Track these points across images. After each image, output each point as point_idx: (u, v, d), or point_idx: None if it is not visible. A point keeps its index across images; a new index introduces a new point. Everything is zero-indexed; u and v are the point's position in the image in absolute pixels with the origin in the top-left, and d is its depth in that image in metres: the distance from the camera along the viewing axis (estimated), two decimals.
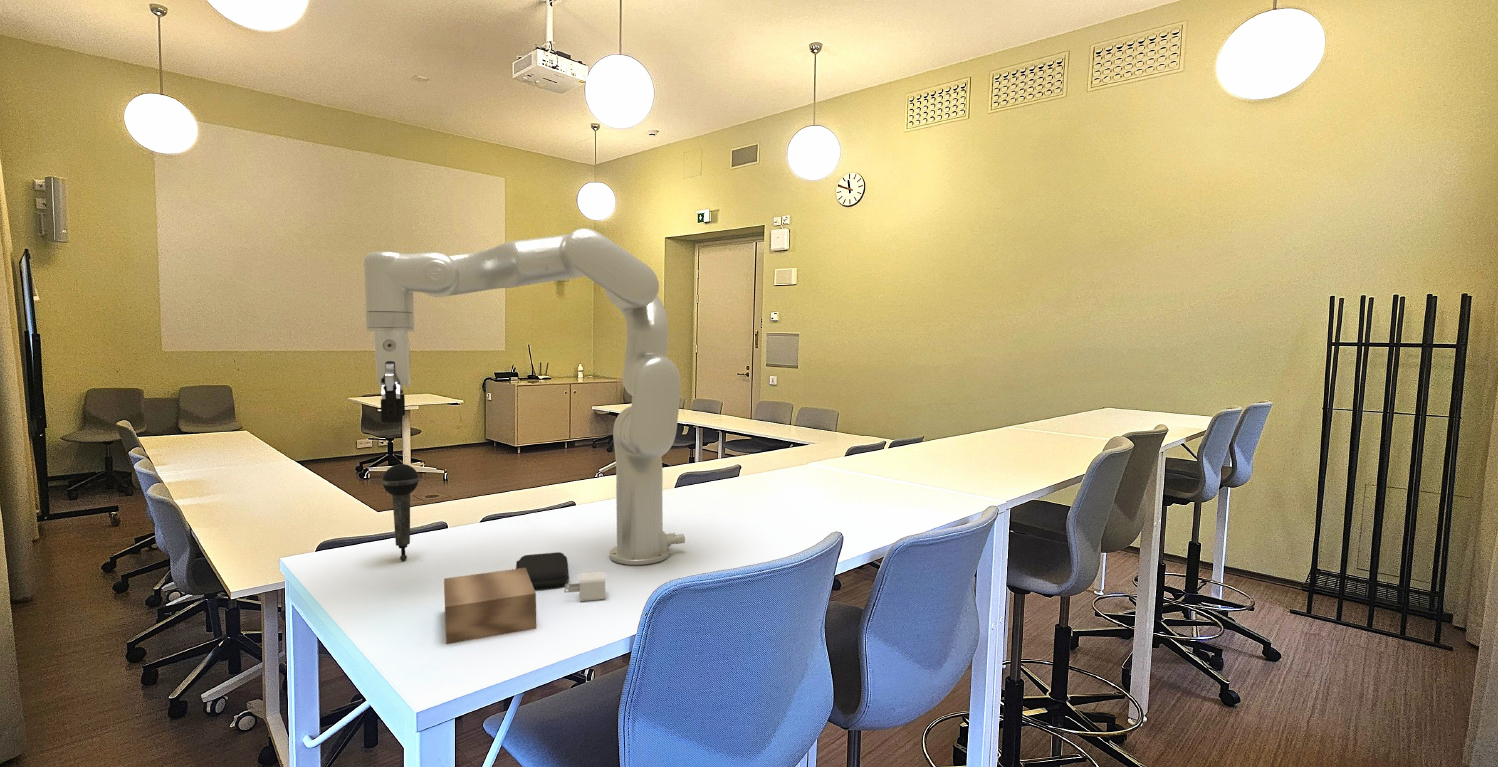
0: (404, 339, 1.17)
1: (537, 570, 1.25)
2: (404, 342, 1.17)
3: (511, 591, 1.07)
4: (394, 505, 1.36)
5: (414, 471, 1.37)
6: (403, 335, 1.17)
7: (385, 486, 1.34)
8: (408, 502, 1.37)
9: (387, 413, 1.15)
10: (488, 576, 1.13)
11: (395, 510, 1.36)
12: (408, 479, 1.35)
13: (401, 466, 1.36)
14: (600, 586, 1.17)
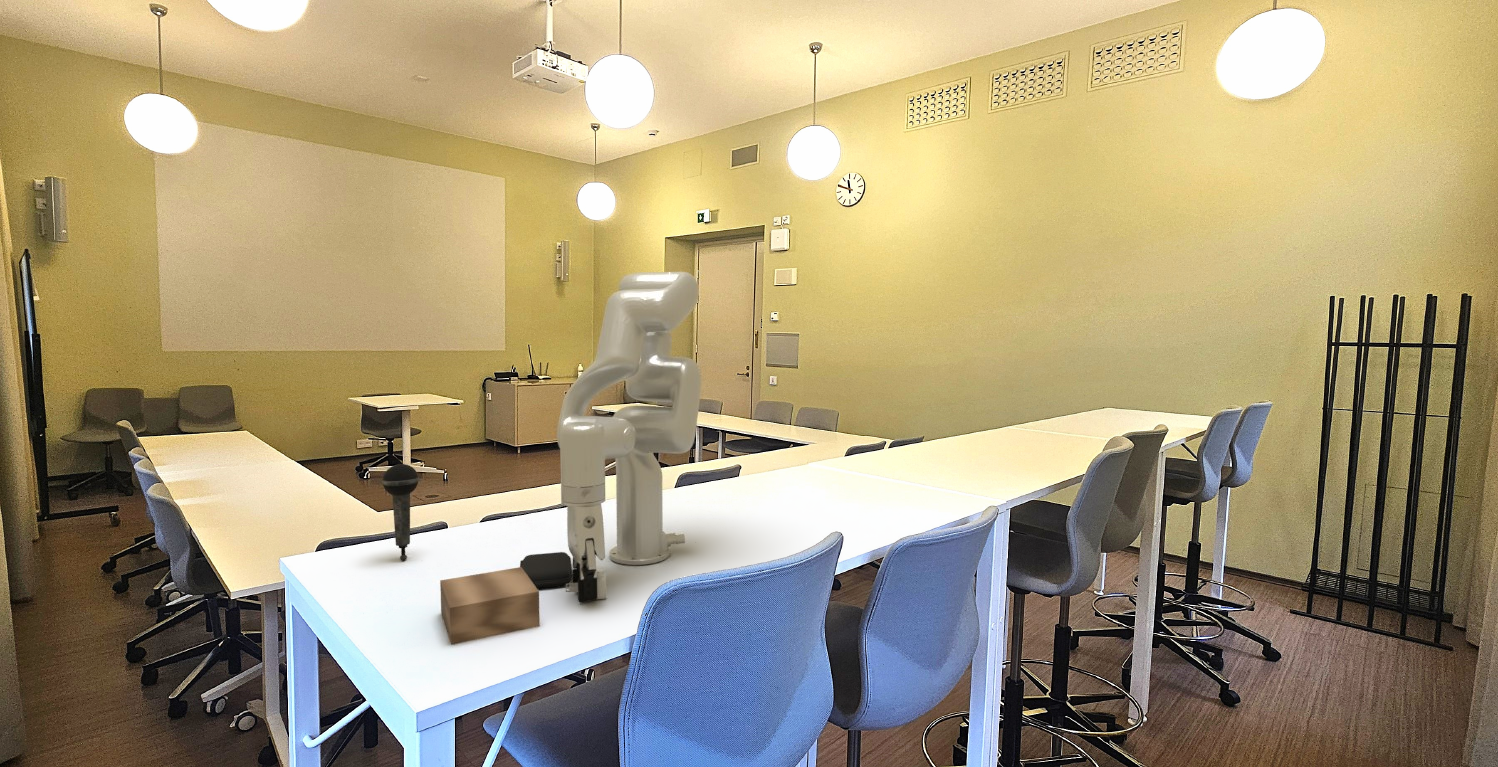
0: (601, 513, 1.15)
1: (541, 569, 1.25)
2: (602, 516, 1.15)
3: (514, 590, 1.07)
4: (394, 505, 1.36)
5: (414, 471, 1.37)
6: (601, 509, 1.15)
7: (385, 486, 1.34)
8: (408, 502, 1.37)
9: (585, 593, 1.15)
10: (485, 576, 1.13)
11: (395, 510, 1.36)
12: (408, 479, 1.35)
13: (401, 466, 1.36)
14: (601, 585, 1.18)
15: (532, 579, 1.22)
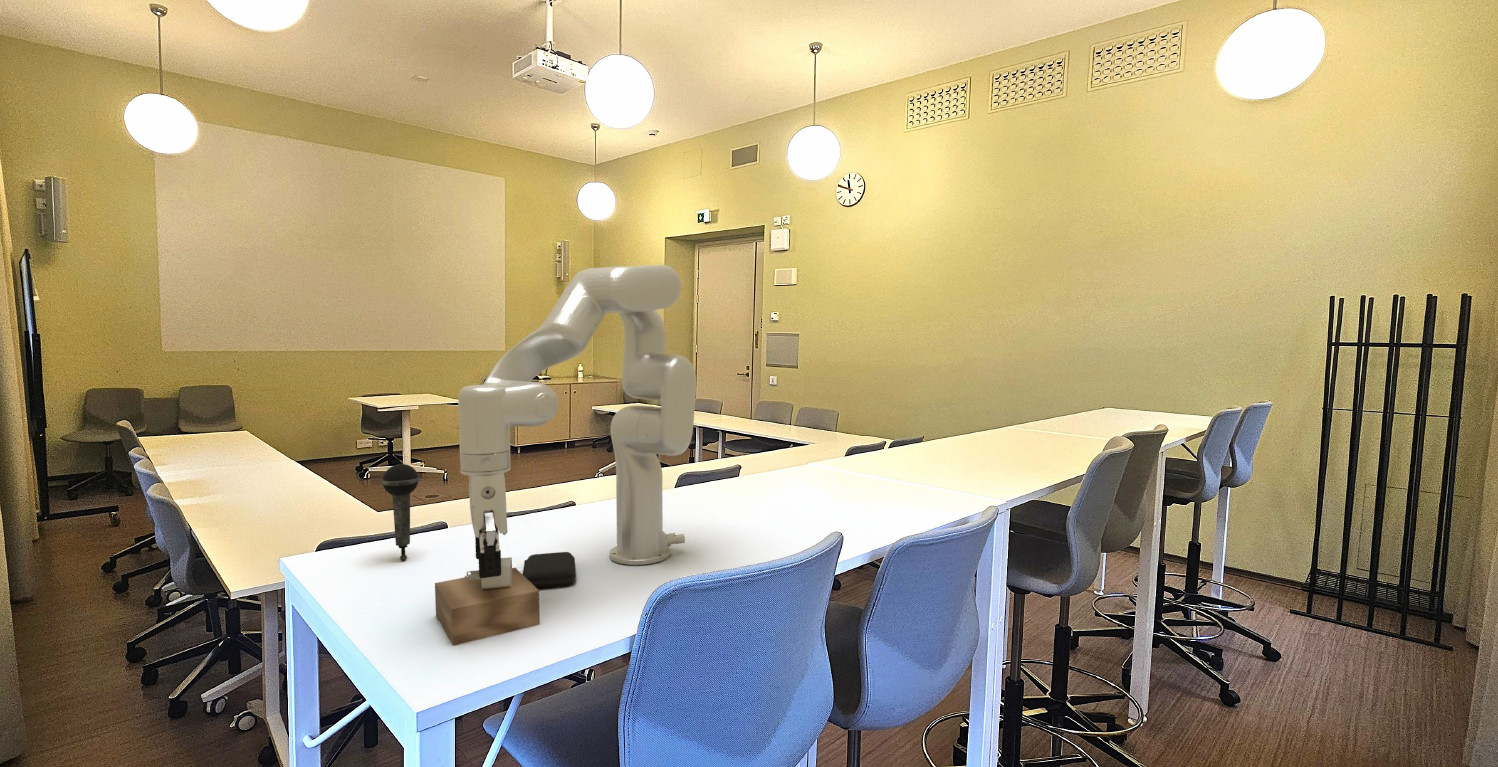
0: (503, 483, 1.05)
1: (545, 569, 1.25)
2: (503, 487, 1.05)
3: (513, 590, 1.07)
4: (394, 505, 1.36)
5: (414, 471, 1.37)
6: (502, 479, 1.05)
7: (385, 486, 1.34)
8: (408, 502, 1.37)
9: (486, 568, 1.03)
10: None
11: (395, 510, 1.36)
12: (408, 479, 1.35)
13: (401, 466, 1.36)
14: (504, 572, 1.08)
15: (536, 579, 1.22)
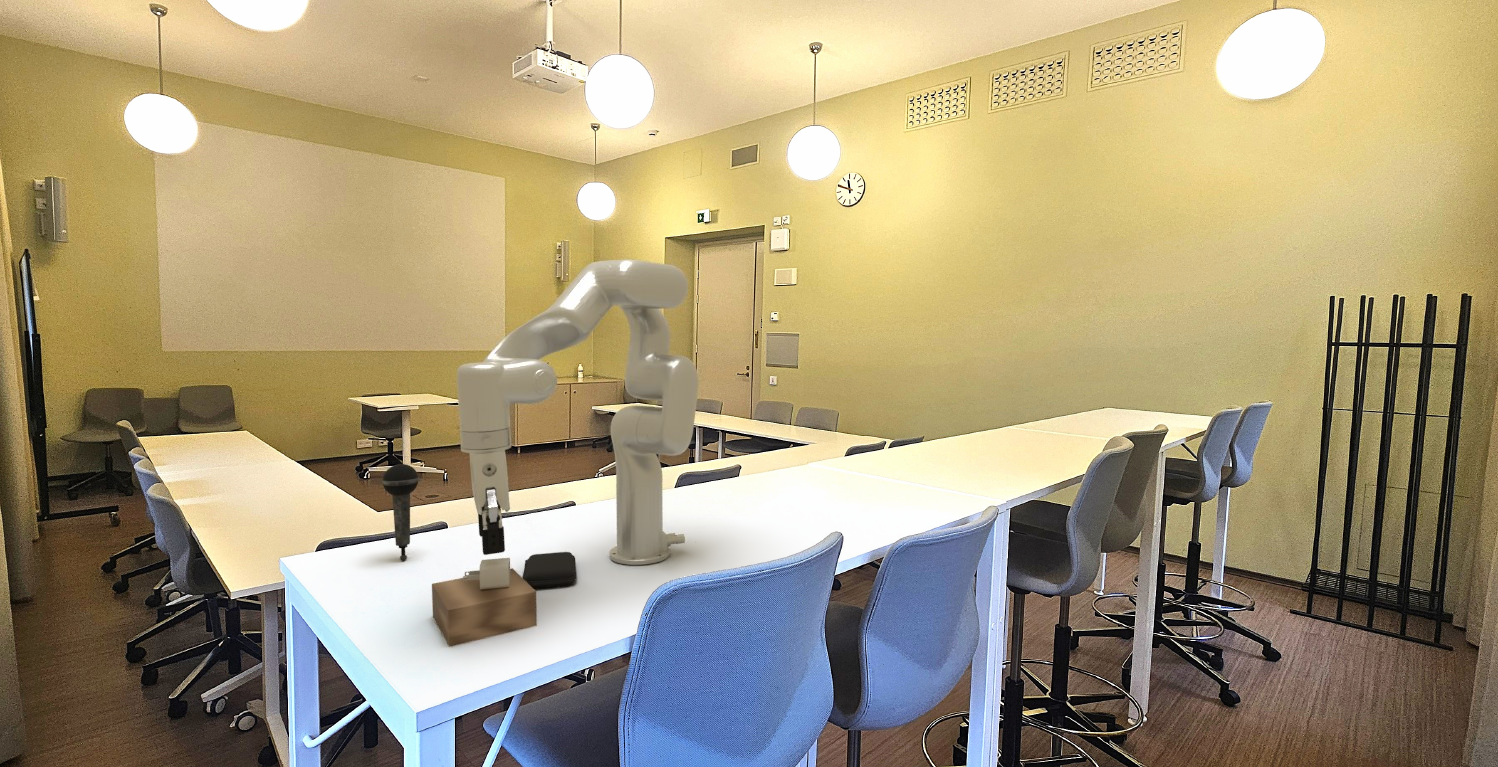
0: (504, 460, 1.05)
1: (545, 569, 1.26)
2: (504, 464, 1.05)
3: (510, 591, 1.07)
4: (394, 505, 1.36)
5: (414, 471, 1.37)
6: (503, 456, 1.05)
7: (385, 486, 1.34)
8: (408, 502, 1.37)
9: (489, 545, 1.04)
10: None
11: (395, 510, 1.36)
12: (408, 479, 1.35)
13: (401, 466, 1.36)
14: (503, 573, 1.08)
15: (536, 578, 1.22)
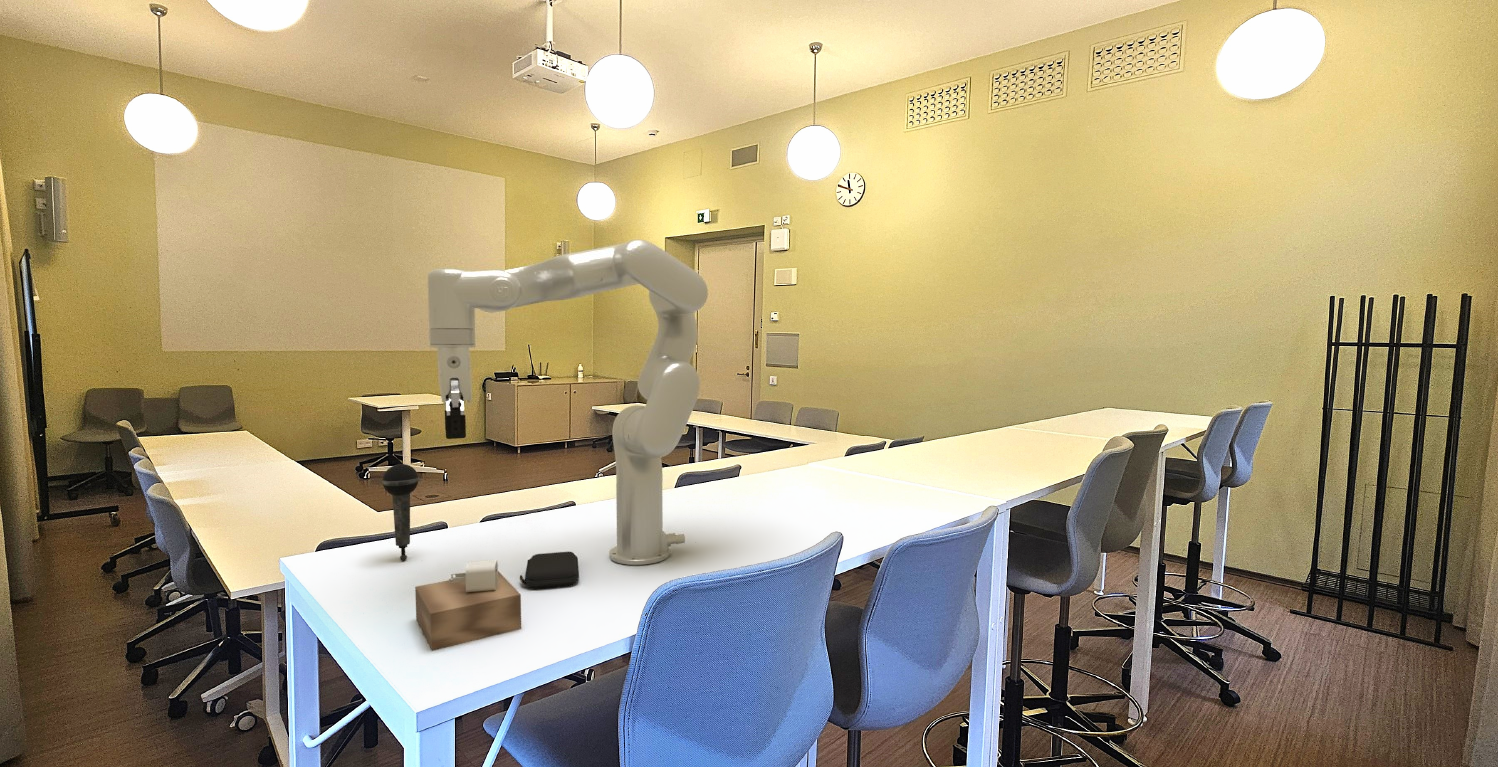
0: (467, 356, 1.17)
1: (548, 569, 1.26)
2: (467, 359, 1.17)
3: (494, 594, 1.06)
4: (394, 505, 1.36)
5: (414, 471, 1.37)
6: (466, 352, 1.17)
7: (385, 486, 1.34)
8: (408, 502, 1.37)
9: (452, 429, 1.16)
10: None
11: (395, 510, 1.36)
12: (408, 479, 1.35)
13: (401, 466, 1.36)
14: (489, 575, 1.07)
15: (539, 578, 1.23)
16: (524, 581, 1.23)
